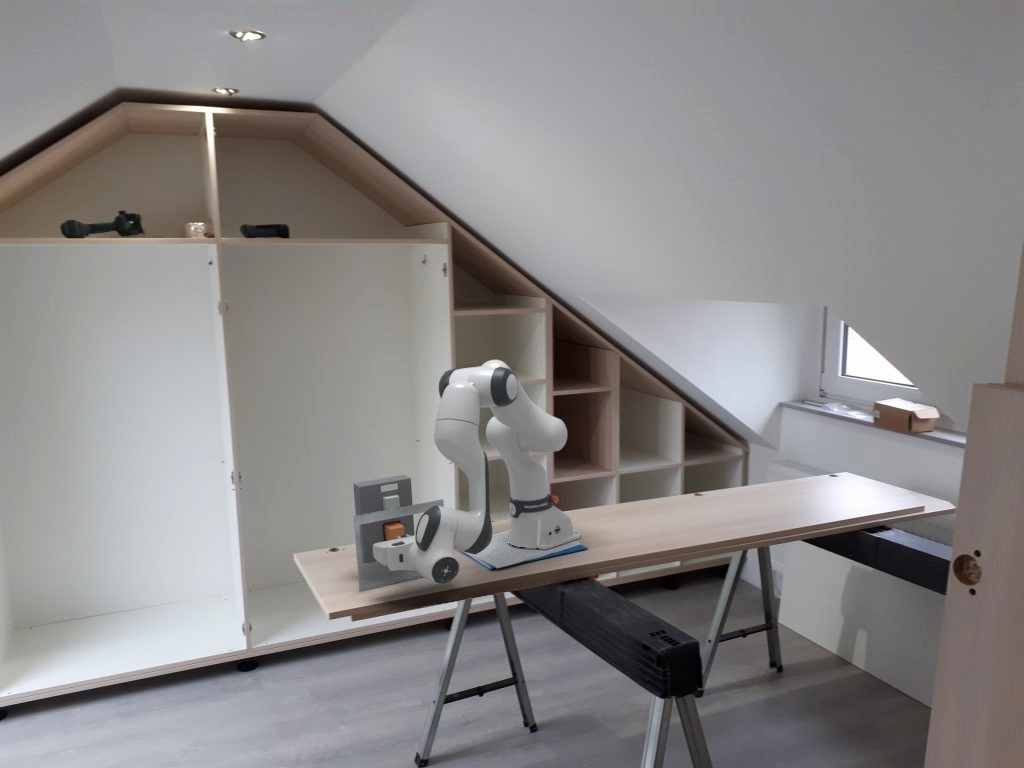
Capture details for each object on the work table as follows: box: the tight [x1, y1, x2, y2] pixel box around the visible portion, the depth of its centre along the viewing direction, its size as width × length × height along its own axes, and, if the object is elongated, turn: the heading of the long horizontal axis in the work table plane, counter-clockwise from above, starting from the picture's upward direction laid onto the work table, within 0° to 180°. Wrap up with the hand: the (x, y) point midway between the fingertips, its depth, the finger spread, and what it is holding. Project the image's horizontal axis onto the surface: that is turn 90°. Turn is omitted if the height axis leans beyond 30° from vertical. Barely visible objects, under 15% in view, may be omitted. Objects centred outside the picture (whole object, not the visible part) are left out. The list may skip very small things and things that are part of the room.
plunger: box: [383, 521, 405, 541], centre depth 233 cm, size 7×4×4 cm, turn 28°
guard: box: [353, 498, 445, 592], centre depth 231 cm, size 8×25×20 cm, turn 118°
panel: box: [352, 474, 416, 564], centre depth 235 cm, size 7×15×26 cm, turn 118°
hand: (402, 538), depth 226 cm, fingers closed
